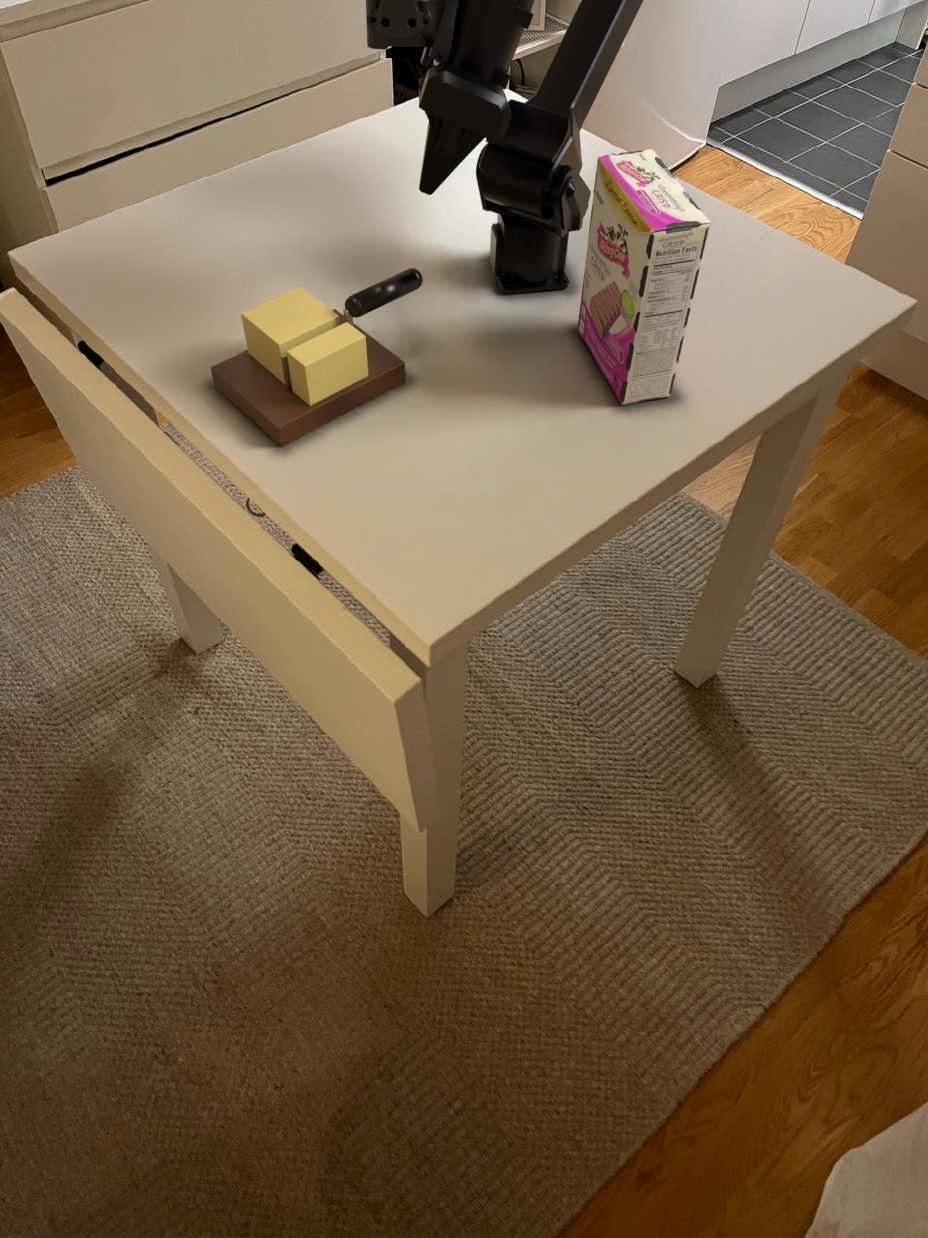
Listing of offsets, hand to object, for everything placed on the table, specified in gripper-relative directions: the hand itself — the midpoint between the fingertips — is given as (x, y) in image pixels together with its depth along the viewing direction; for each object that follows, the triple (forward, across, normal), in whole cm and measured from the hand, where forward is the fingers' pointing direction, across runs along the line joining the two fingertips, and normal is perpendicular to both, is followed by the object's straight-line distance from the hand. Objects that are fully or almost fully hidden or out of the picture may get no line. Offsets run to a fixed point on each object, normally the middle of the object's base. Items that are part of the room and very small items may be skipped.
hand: (424, 191), depth 77 cm
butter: (+15, +5, -5) cm, 17 cm away
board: (+17, +5, -4) cm, 18 cm away
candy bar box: (+7, +2, +21) cm, 22 cm away
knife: (+13, +4, -1) cm, 14 cm away
